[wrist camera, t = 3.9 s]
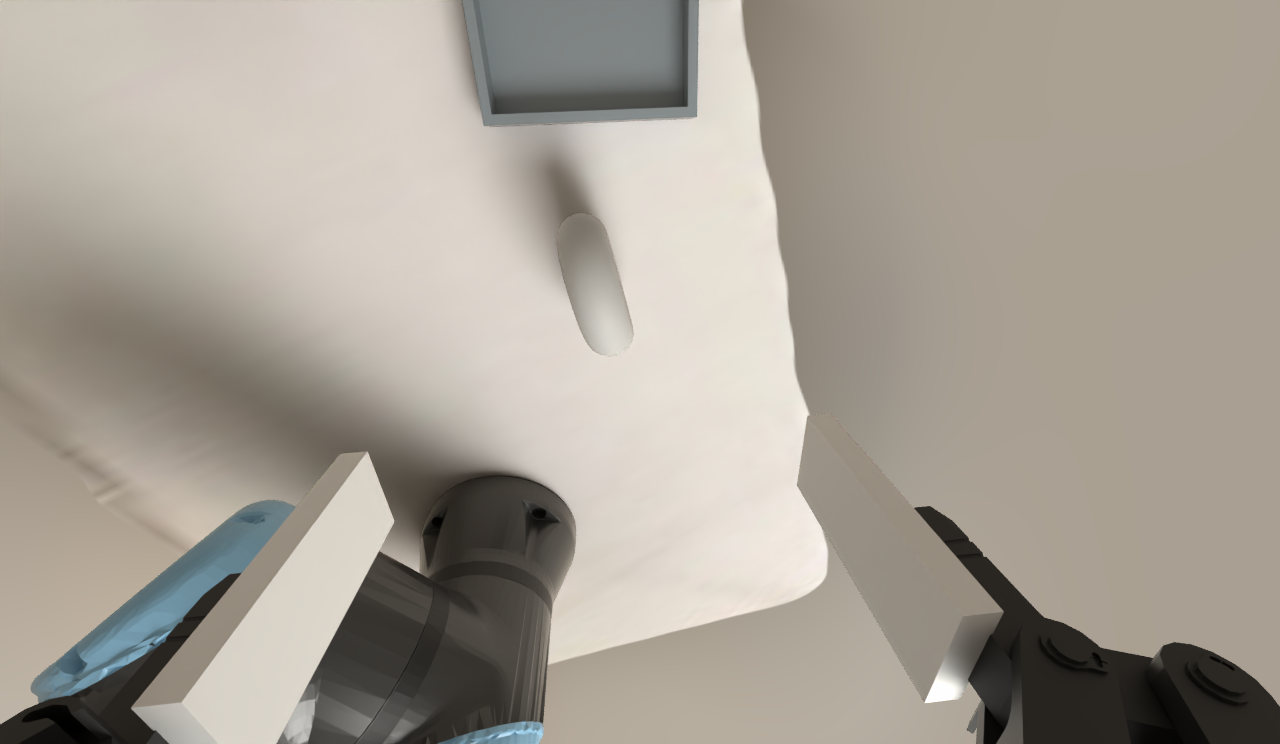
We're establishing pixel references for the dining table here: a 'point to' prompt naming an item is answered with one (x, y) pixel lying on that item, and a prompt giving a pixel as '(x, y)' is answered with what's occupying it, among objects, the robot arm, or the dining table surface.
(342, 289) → the dining table surface
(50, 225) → the dining table surface
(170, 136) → the dining table surface
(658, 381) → the dining table surface
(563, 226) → the donut
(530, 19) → the tray
